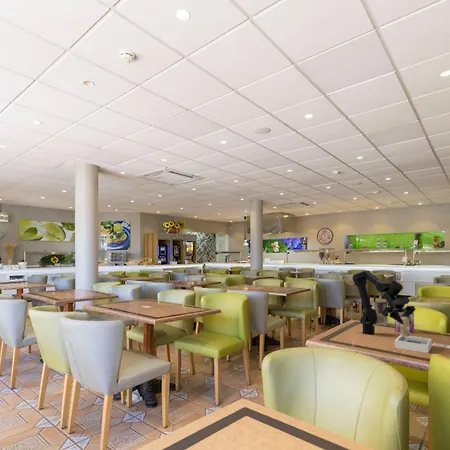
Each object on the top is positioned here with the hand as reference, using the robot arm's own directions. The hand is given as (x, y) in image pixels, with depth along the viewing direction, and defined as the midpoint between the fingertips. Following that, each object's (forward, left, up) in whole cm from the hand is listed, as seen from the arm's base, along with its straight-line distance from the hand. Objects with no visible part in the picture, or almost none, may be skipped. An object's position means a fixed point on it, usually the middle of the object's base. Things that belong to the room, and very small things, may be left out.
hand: (406, 323), depth 193 cm
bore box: (+2, +6, -13) cm, 15 cm away
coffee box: (-26, +54, -14) cm, 62 cm away
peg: (-1, +1, -7) cm, 7 cm away
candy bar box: (-8, +41, -14) cm, 44 cm away
